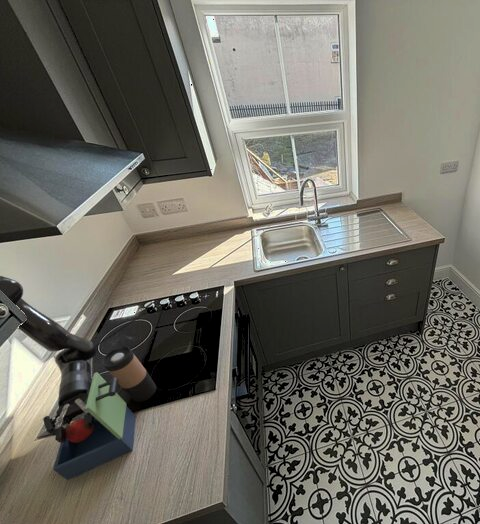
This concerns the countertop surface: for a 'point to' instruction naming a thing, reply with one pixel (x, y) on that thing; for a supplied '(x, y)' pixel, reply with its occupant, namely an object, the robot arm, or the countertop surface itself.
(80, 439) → the onion
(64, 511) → the countertop surface
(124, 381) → the travel mug
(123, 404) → the lunchbox lid
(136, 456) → the countertop surface
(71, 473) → the box
